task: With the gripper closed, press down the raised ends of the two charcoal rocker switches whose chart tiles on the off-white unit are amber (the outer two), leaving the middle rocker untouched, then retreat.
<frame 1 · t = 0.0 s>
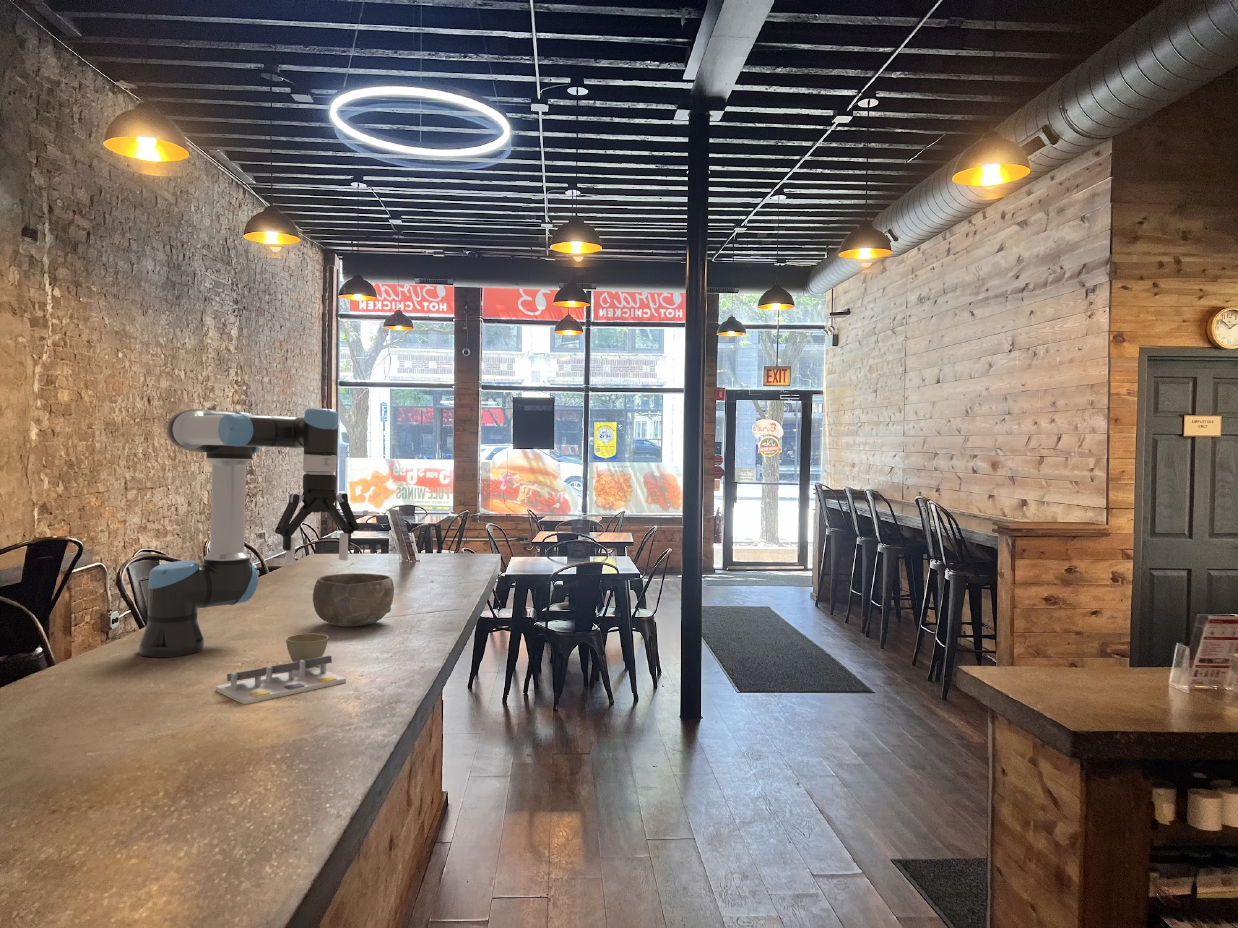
hand: (317, 562, 192), 28 cm above the table, fingers open, 13 cm apart
switch unit: (282, 686, 185), on the table
bowl: (353, 625, 251), on the table
rocker b: (280, 667, 186), point 4 cm above the table, hinge at -15.0°
flower pot: (306, 666, 204), on the table
rocker a: (246, 674, 180), point 4 cm above the table, hinge at -15.0°
rocker c: (313, 661, 192), point 4 cm above the table, hinge at -15.0°
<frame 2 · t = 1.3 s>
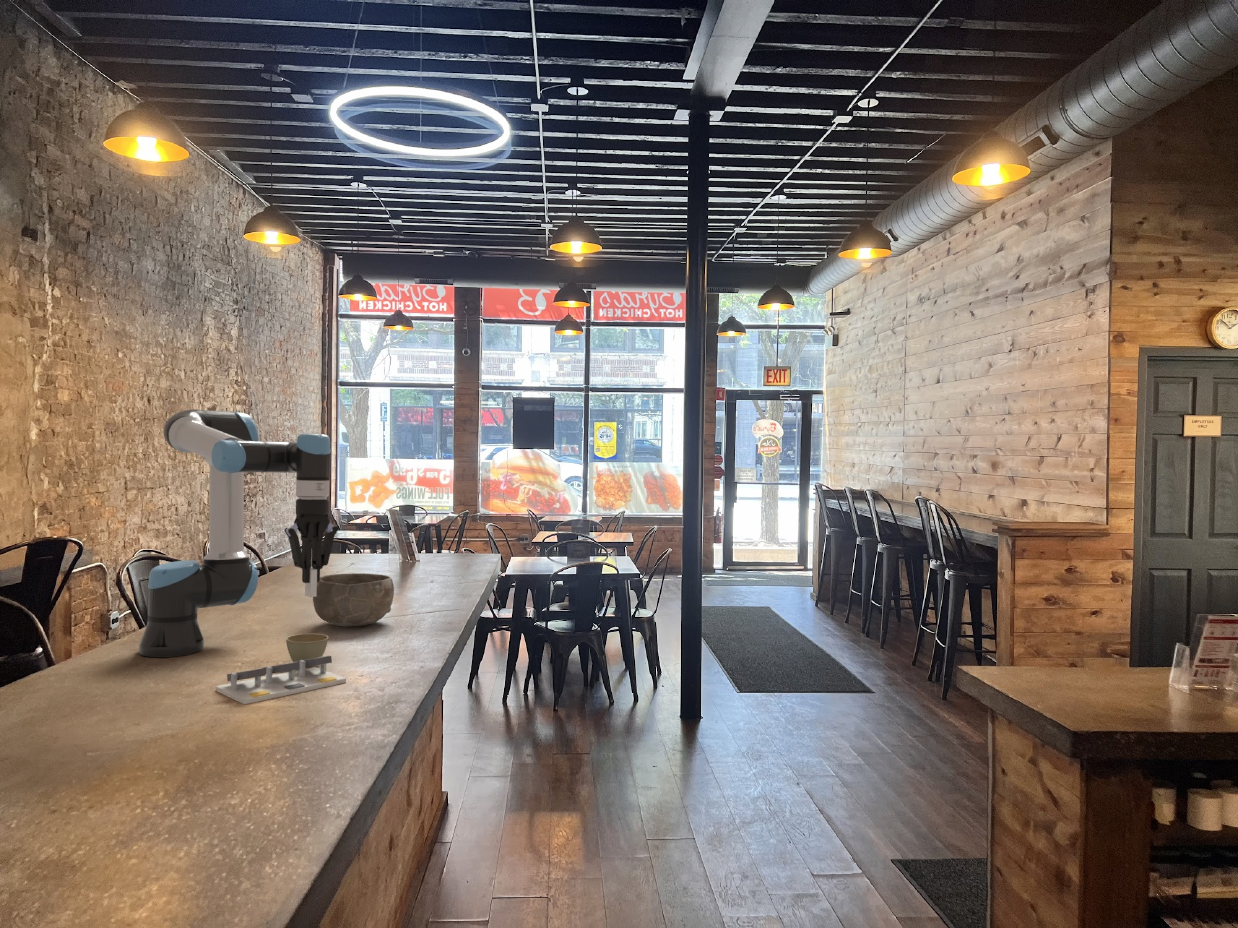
hand: (310, 595, 193), 20 cm above the table, fingers closed
nothing on the table moved.
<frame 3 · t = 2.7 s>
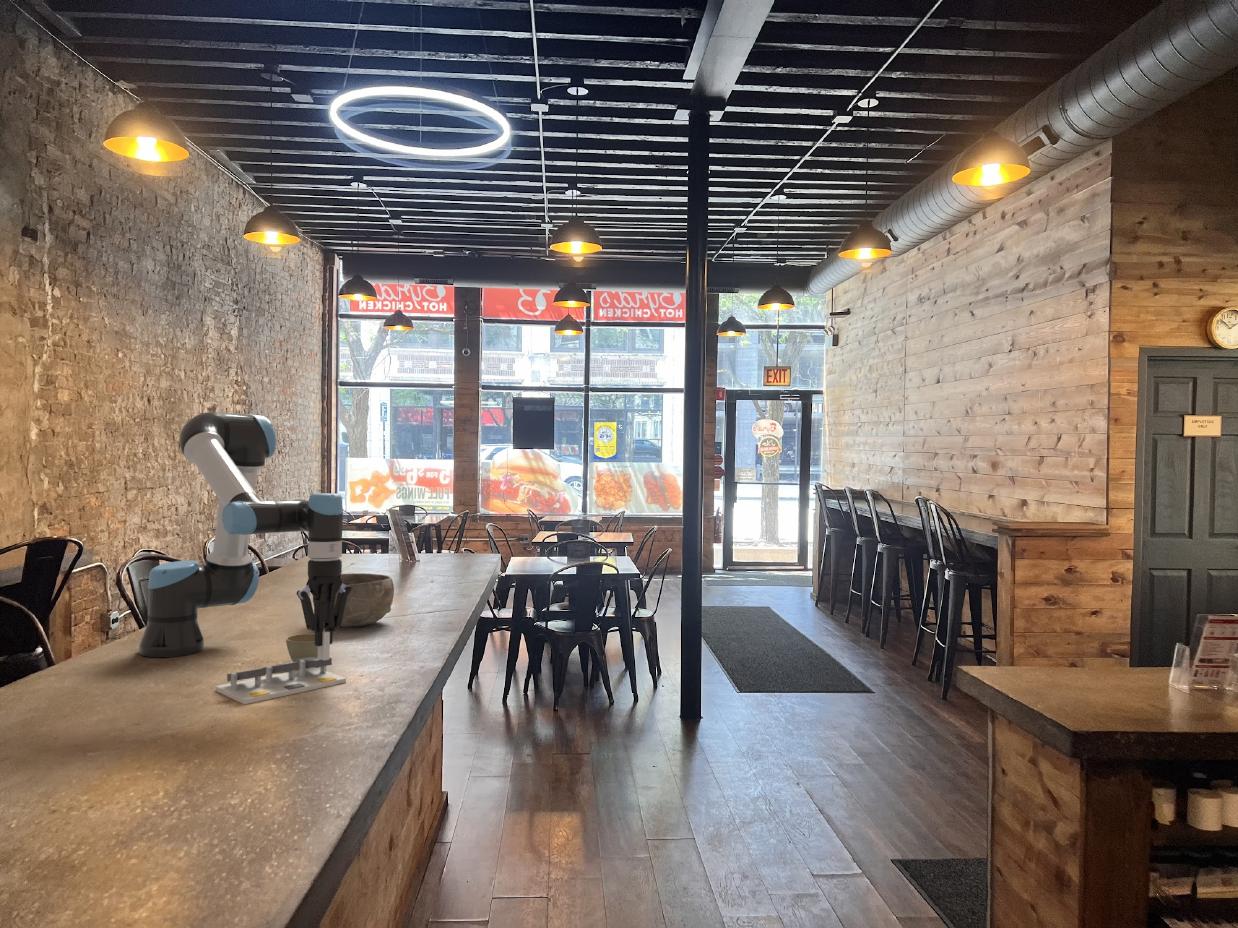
hand: (323, 658, 189), 6 cm above the table, fingers closed
rocker c: (313, 661, 192), point 4 cm above the table, hinge at -9.1°, touching gripper
everything else where it was.
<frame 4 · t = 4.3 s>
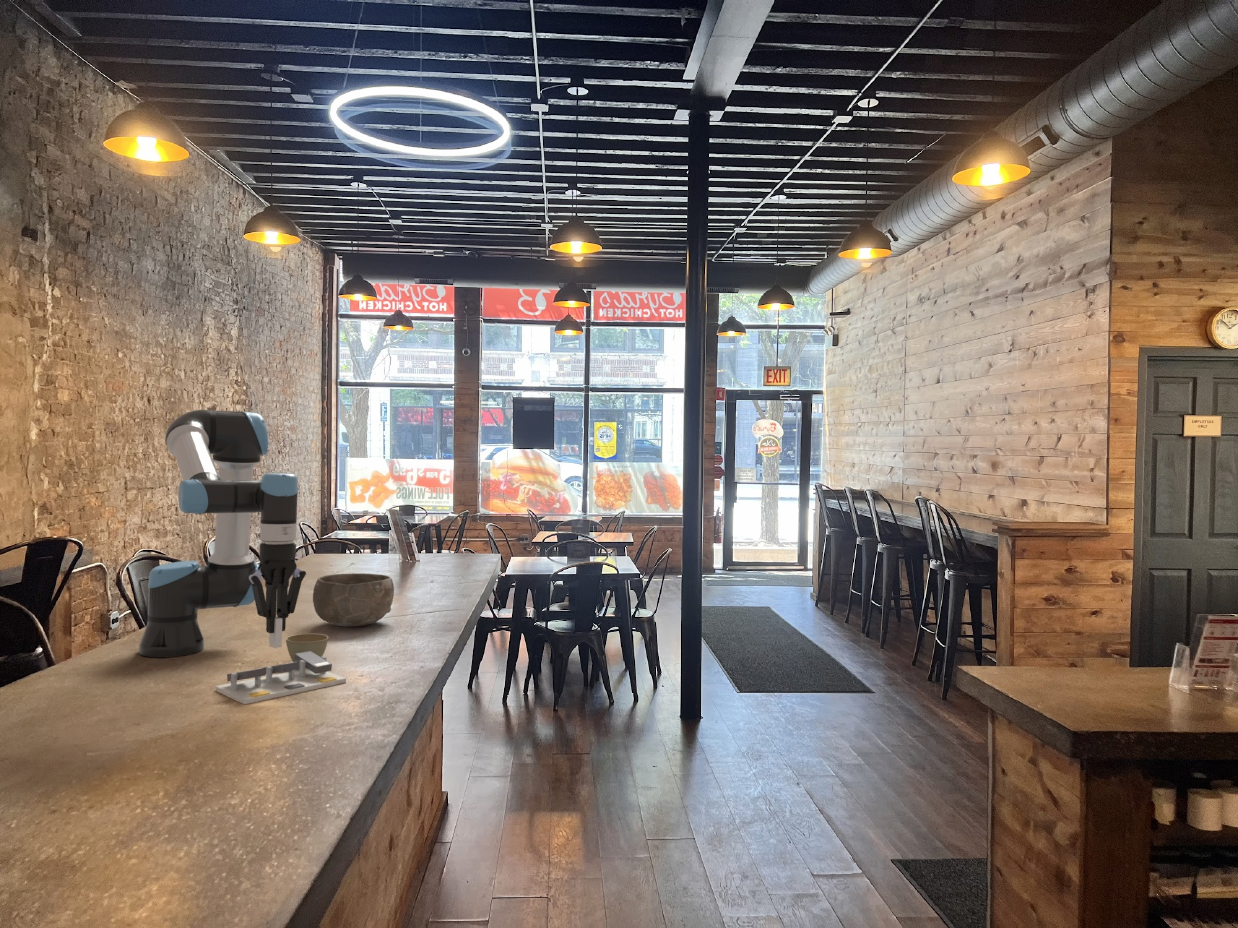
hand: (275, 646, 181), 10 cm above the table, fingers closed
rocker c: (313, 661, 192), point 4 cm above the table, hinge at 7.6°
everything else where it was.
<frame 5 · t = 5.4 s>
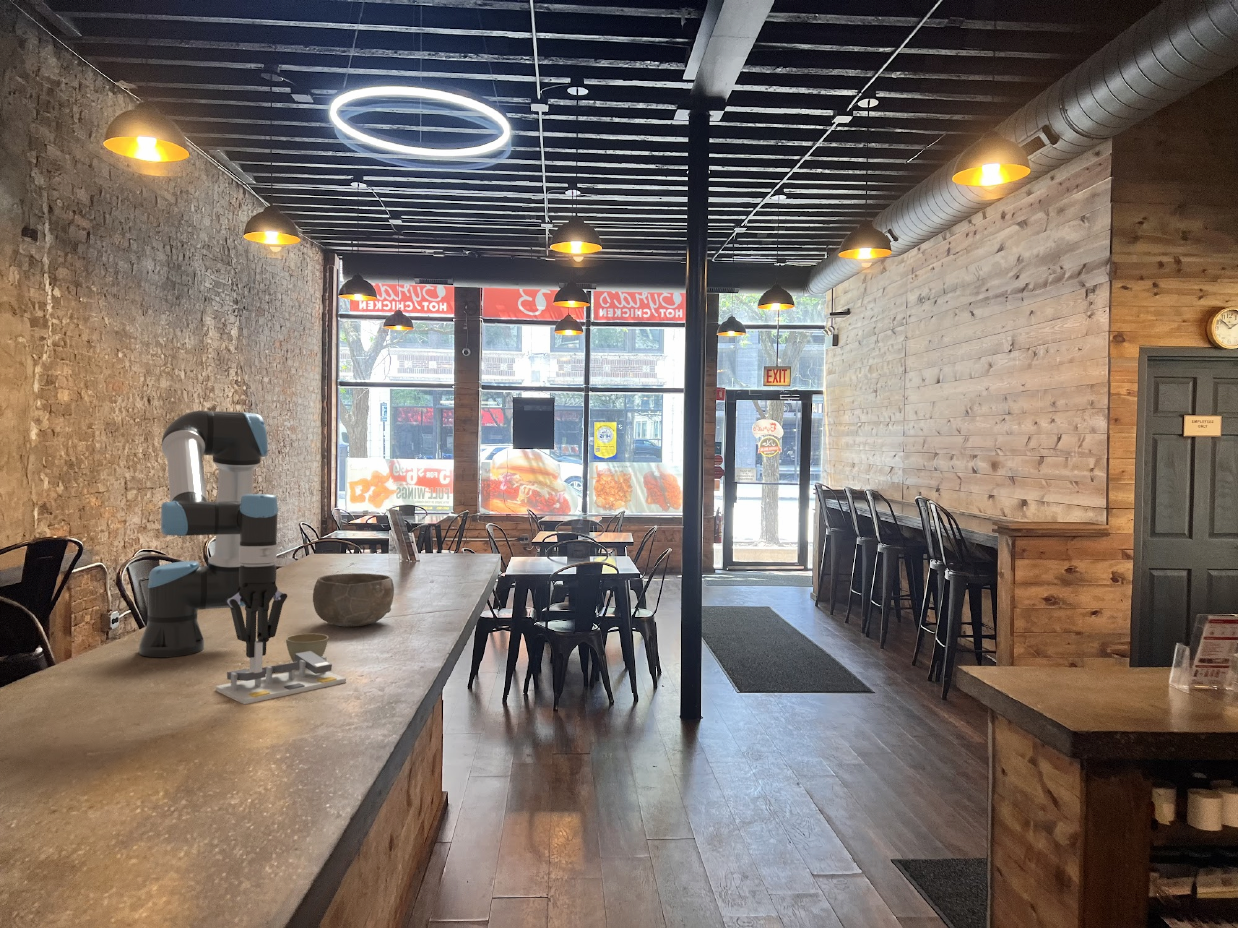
hand: (255, 671, 177), 6 cm above the table, fingers closed
rocker a: (246, 674, 180), point 4 cm above the table, hinge at -9.8°, touching gripper
rocker c: (313, 661, 192), point 4 cm above the table, hinge at 8.0°
everything else where it was.
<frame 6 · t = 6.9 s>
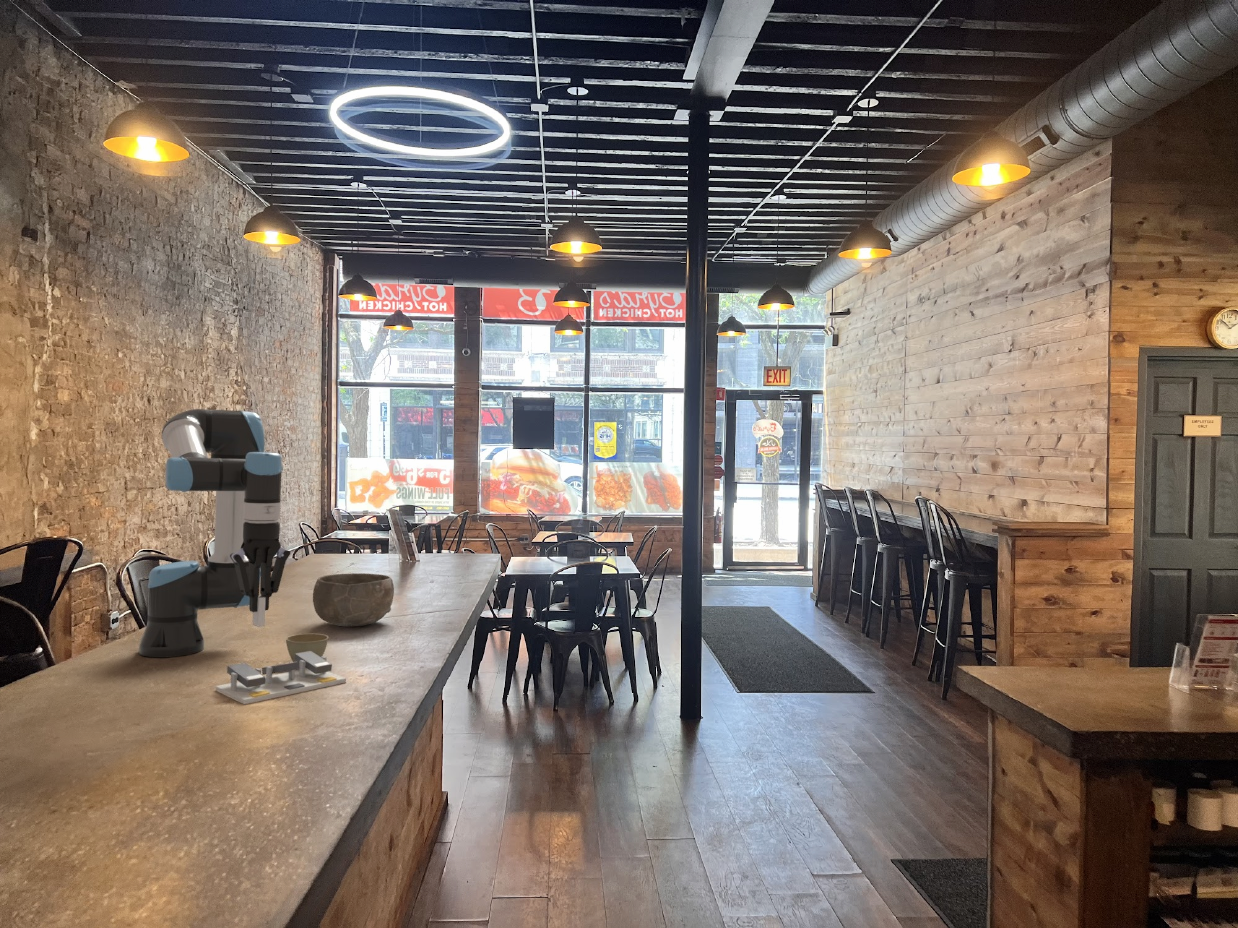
hand: (258, 625, 181), 15 cm above the table, fingers closed
rocker a: (246, 674, 180), point 4 cm above the table, hinge at 7.7°
everything else where it was.
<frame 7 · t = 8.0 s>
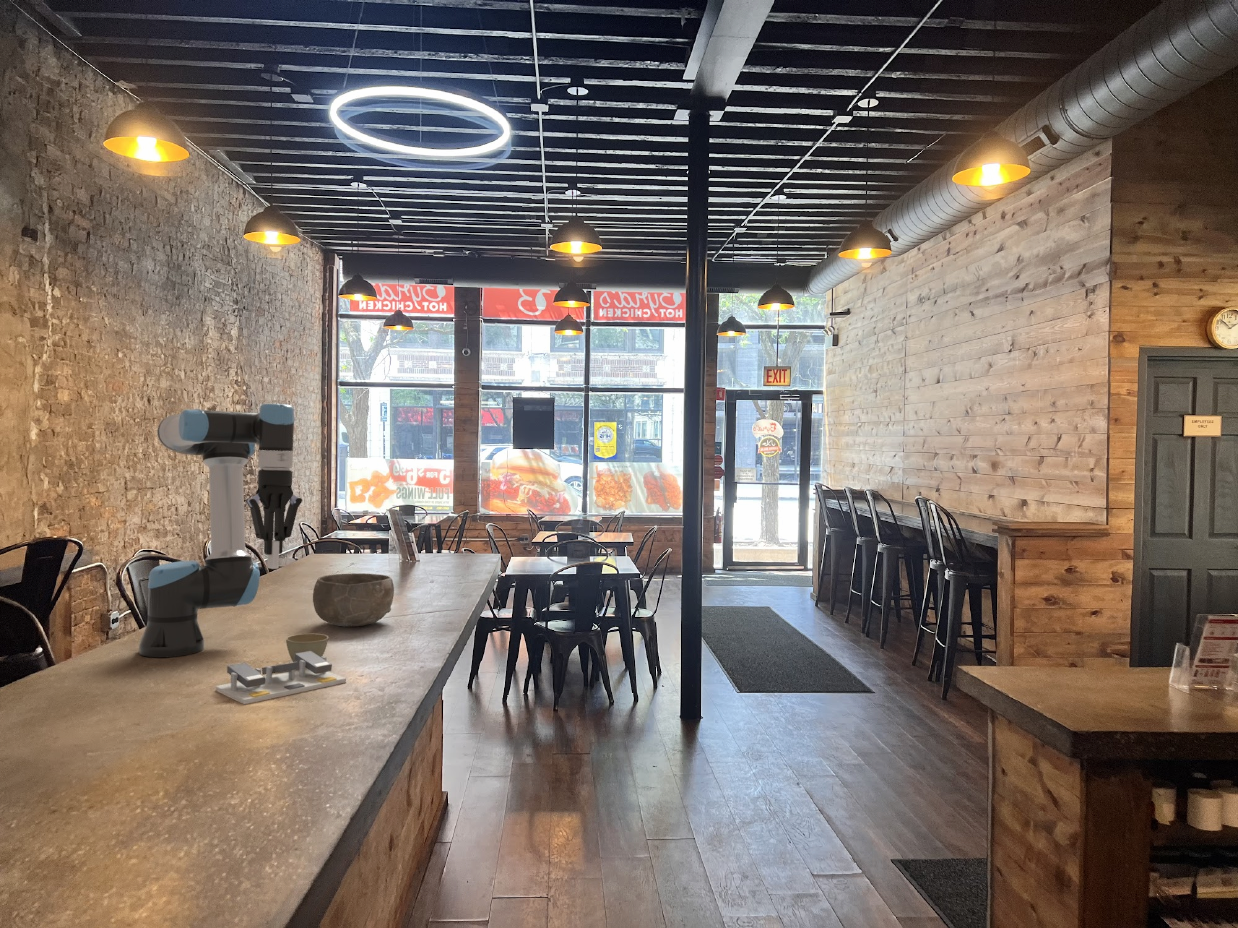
hand: (272, 567, 191), 26 cm above the table, fingers closed
rocker a: (246, 674, 180), point 4 cm above the table, hinge at 8.3°
everything else where it was.
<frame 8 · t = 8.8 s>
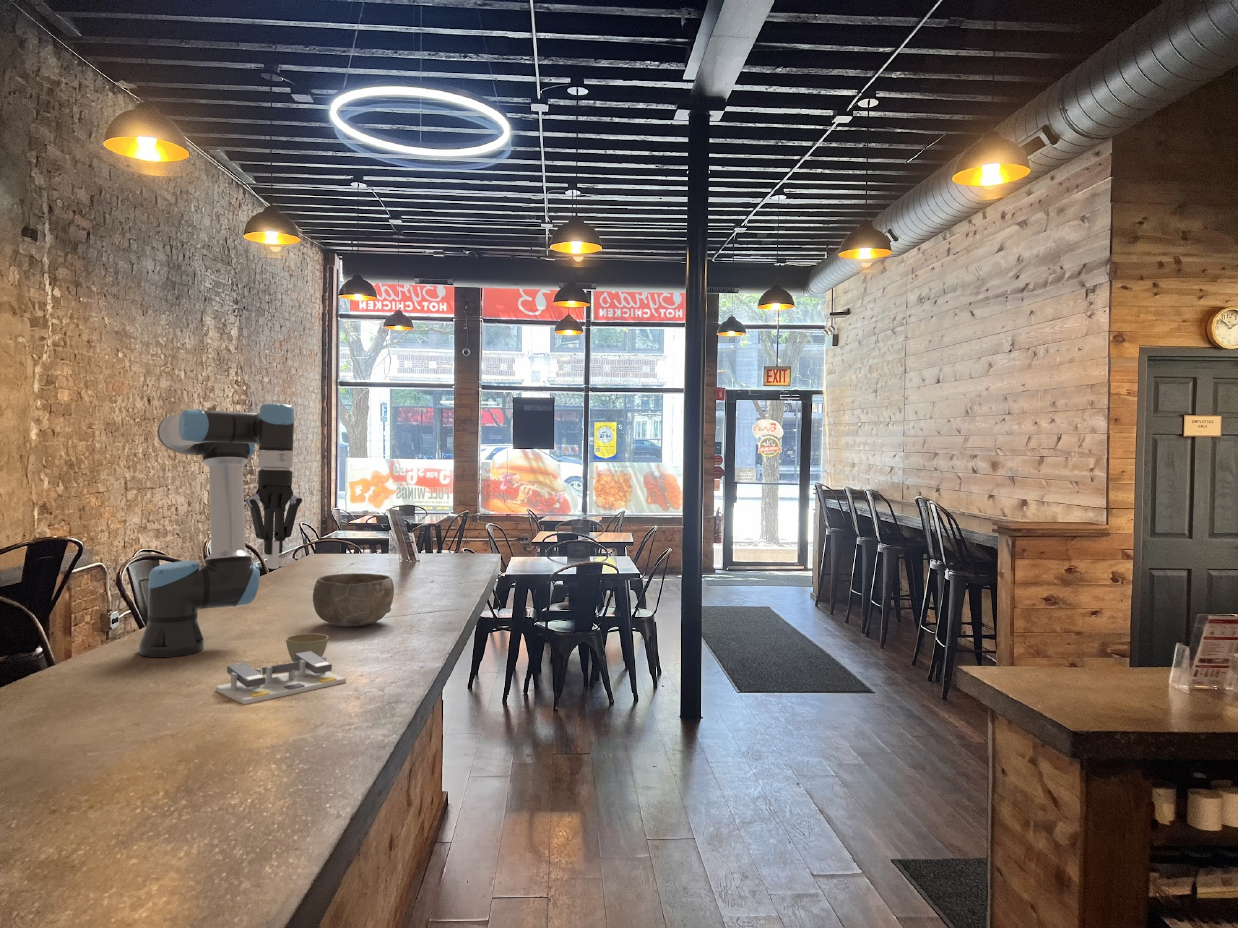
hand: (272, 567, 191), 26 cm above the table, fingers closed
nothing on the table moved.
at the end: rocker c at +8° (first picture: -15°); rocker a at +8° (first picture: -15°); rocker b at -15° (first picture: -15°) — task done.
